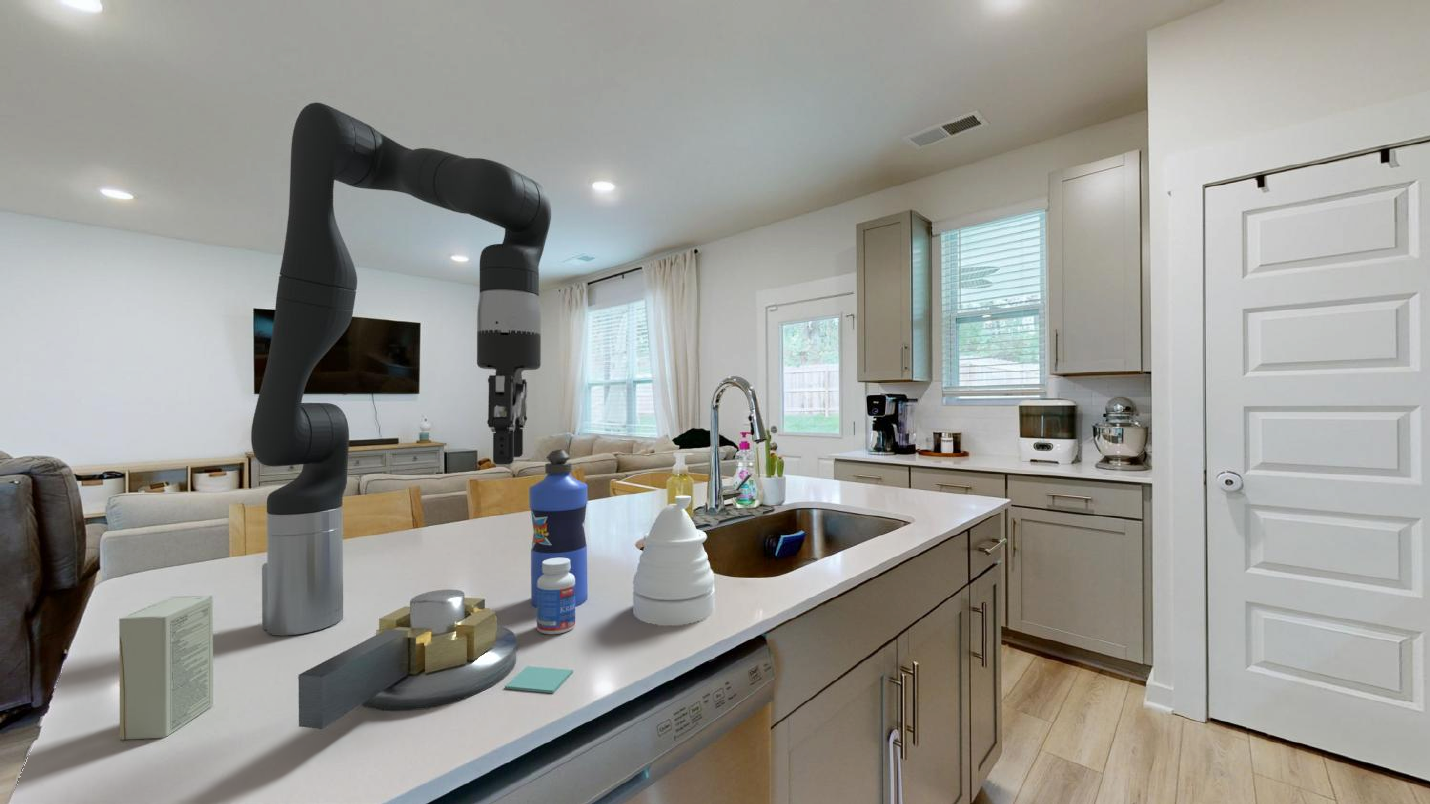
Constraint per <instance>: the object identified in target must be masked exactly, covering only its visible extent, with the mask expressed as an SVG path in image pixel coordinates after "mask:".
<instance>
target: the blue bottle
mask: <svg viewBox="0 0 1430 804" xmlns="http://www.w3.org/2000/svg"><path fill="white" fill-rule="evenodd" d="M545 458H546V459H547V460H548V461H549V462H548V463H547V462H546V463H545V464H544V465H545V466H544V467H545V468H544V470H545V471H544V472H545V474H546V476H545V477H544V478H543V479H542V480H540V481H539V482H536V483H535V484H533V485H531V486H530V487H529V491H528V492H529V493H528V495H529V496H528V498H529V500H528V501H529V508H530V513H531V521H532V530H533V534H532V542H531V549H530V584H531V585H530V589H531V590H530V595H531V597H530V600H531V601H530V603H531V606H532V607H533V608H535V609H537V581H538V579H539V578H540V577H541V576H542V575H544V573H543V572H542V562H543V561H544V560H547V559H551V558H568V559H570V565H571V568H570V571H569V573H571V574H572V575H573V576H574V577H575V608H576V607H578V605H579V606H580V605H582V603H583V604H584V603H586V602H587V601H586V600H588V599H589V597H588V591H589V590H588V545H587V540H586V532H585V524H586V514H587V505H588V484H587V483H585V482H582V481H580V480H578V479H576V478H574V477H573V476H572V474H571V473H572V472H573V471H572V462H568V461H569V459H570V458H571V456H570V455H569V454H568V453H567V452H566V451H565V449H553V450H551V452H549V454H548V455H547V456H546V457H545ZM587 598H588V599H587ZM585 601H586V602H585Z"/></svg>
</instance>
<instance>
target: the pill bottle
mask: <svg viewBox="0 0 1430 804" xmlns="http://www.w3.org/2000/svg"><path fill="white" fill-rule="evenodd" d="M570 568H571V565H570V559H568V558H551V559H547V560H544V561H543V562H542V572H543V573H544V575H542V576H541V577H540V578H539V579H538V581H537V608H536V629H537V631H538V632H539V633H541V634H544V635H559V634H560V635H561V634H563V633H566V632H570V631H571V630H572V629H574V627H575V625H576V607H575V577H574V576H573V575H572V574H571V573H569V571H570Z"/></svg>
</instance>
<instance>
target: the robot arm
mask: <svg viewBox="0 0 1430 804" xmlns="http://www.w3.org/2000/svg"><path fill="white" fill-rule="evenodd" d="M292 131H293V132H292V138H291V147H290V150H291V152H290V169H289V170H290V173H289V174H290V175H289V177H290V178H289V200H288V202H289V204H288V216H287V224H286V225H287V226H286V234H285V241H284V245H283V246H284V248H283V254H282V260H281V266H280V271H279V277H278V285H277V289H276V290H277V291H276V297H275V309H274V318H273V326H272V331H271V338H270V339H271V340H270V345H269V346H270V347H269V352H268V356H267V357H268V358H267V362H266V367H265V371H264V374H263V378H262V382H261V385H260V390H259V394H258V398H257V402H256V405H255V409H254V414H253V417H252V424H251V429H250V432H251V433H250V442H251V449H252V452H253V455H254V457H255V458H256V460H257V461H258V462H259V463H261V464H262V465H264V466H267V467H284V466H285V467H286V466H297V465H299V466H300V465H302V468H301V469H302V470H301V472H300V474H298V475H297V477H296V478H295V479H293V480H292V481H290V482H289V483H287V484H285V485H283V486H281V487H279V488H277V489H275V490H273V491H271V492H270V493H269V494H268V495H267V498H266V537H267V540H266V542H267V543H266V549H267V550H266V556H267V561H266V562H265V563H263V565H262V566H261V621H262V623H261V627H262V630H267V633H268V634H270V635H273V636H293V635H302V634H307V633H311V632H316V631H320V630H322V629H323V630H324V629H326V628H329V627H332V626H334V625H335V624H337V623H339V622H341V621H342V620H343V618H344V533H343V532H344V529H343V528H344V527H343V525H344V524H343V523H344V522H343V518H344V517H343V516H344V515H343V500H344V499H343V497H344V494H345V491H346V489H347V484H348V468H349V467H348V466H349V464H348V463H349V462H348V461H349V451H350V450H349V447H350V430H349V429H350V428H349V424H348V419H347V416H346V414H345V413H344V411H343V410H342V409H341V408H340V406H338V405H336V404H333V403H329V402H302V401H303V396H304V392H305V388H306V386H307V383H308V380H309V378H310V376H311V374H312V372H313V370H314V368H315V367H316V366H317V364H318V363H319V362H320V361H321V359H323V357H324V356H325V355H326V354H327V353H328V352H329V351H330V349H331V348H332V347H333V346H334V345H335V344H336V343H337V342H338V341H339V339H340V338H341V337H342V336H343V334H344V333H345V332H346V330H347V329H348V327H349V326H350V325H351V324H350V323H351V321H352V319H353V316H354V315H353V314H354V307H355V301H356V294H357V287H358V276H357V270H356V268H355V264H354V262H353V260H352V257H351V254H350V252H349V249H348V248H347V245H346V243H345V241H344V238H343V236H342V234H341V231H340V229H339V226H338V224H337V219H336V217H335V212H334V211H335V209H334V188H335V181H336V182H339V183H343V184H345V185H347V186H351V187H353V188H359V189H367V190H378V191H391V192H399V193H404V194H407V195H410V196H411V197H413V198H416V199H417V200H420V201H422V202H424V203H428V204H430V205H433V206H436V207H439V208H443V209H445V210H449V211H451V212H455V213H459V214H464V215H465V214H467V215H470V216H472V217H475V218H478V219H480V220H483V221H485V222H488V223H490V224H492V225H495V226H498V227H501V228H503V229H504V235H503V236H504V237H503V240H502V243H494V244H490V245H488V246H485V247H484V248H483V249H482V251H481V253H480V257H479V296H478V303H477V304H478V305H477V309H476V310H477V313H476V315H477V316H476V365H477V366H478V368H480V369H484V370H495V374H493V375H491V374H489V377H488V378H487V383H488V407H487V408H488V411H487V413H488V414H487V417H488V419H487V421H486V423H487V426H488V428H490V430H491V431H490V432H492V438H493V439H492V461H493V464H495V465H511V464H512V463H513V462H514V461H515V460H514V458H520V457H522V456H523V454H524V428H525V426H526V423H527V420H528V417H527V411H528V403H527V402H528V400H527V396H528V392H529V391H528V390H529V389H528V382H527V380H526V379H523V375H522V373H523V372H524V371H536V370H539V368H540V367H541V364H542V363H541V362H542V359H541V357H542V355H541V352H542V351H541V349H542V348H541V347H542V346H541V345H542V344H541V341H542V340H541V339H542V337H541V336H542V335H541V334H542V333H541V330H542V328H541V327H542V326H541V325H542V322H541V321H542V319H541V318H542V317H541V316H542V315H541V308H540V298H539V296H540V272H539V270H540V269H539V266H540V263H541V262H540V261H541V259H542V255H543V253H544V249H545V245H546V241H547V238H548V233H549V230H550V226H551V220H552V206H551V202H550V199H549V195H548V194H547V191H546V190H545V189H544V187H543V186H542V185H541V184H540V183H538V182H536V181H535V180H533V179H532V178H529V177H528V176H525V175H524V174H521V172H518V171H516V170H515V169H513V168H511V167H509V166H507V165H505V164H502V163H500V162H497V161H494V160H490V159H487V158H482V157H481V158H479V157H477V158H476V157H465V156H461V155H458V154H454V153H451V152H448V151H443V150H441V149H435V148H429V147H427V148H426V147H420V148H414V149H411V148H409V147H406V146H403V145H401V144H400V143H398V142H397V141H395V140H393V139H391V138H389V137H388V136H386V135H384V134H383V133H381V132H379V131H378V130H376V129H375V128H374V127H372V126H371V125H369V124H368V123H365V122H363V121H361V120H360V119H357V118H355V117H354V116H352V115H349V114H348V113H345V112H343V111H340V110H338V109H337V108H335V107H332V106H330V105H327V104H325V103H322V102H310V103H308V104H307V105H306V106H304V107H303V108H302V109H301V111H300V112H299V114H298V117H297V118H296V120H295V123H294V127H293V130H292Z"/></svg>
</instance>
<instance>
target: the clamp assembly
mask: <svg viewBox="0 0 1430 804" xmlns="http://www.w3.org/2000/svg"><path fill="white" fill-rule="evenodd" d="M497 620H498V618H497V616H496V612H495V611H492V609H491V608H490V607H486V599H485V598H480V597H479V598H478V597H477V598H476V597H465V619H464V620H462V621H460V622H459V623H457V624H456V632H452V633H448V634H443V635H438V636H433V637H431V629H419V628H410V606H407V605H406V606H405V605H404V606H403V607H401V608H399V609H397V610H396V609H395V610H394V611H392V612H390V613H387V614H386V615H384V616H382V617H380V618H378V629H376V630H375V635H373V636H371V637H370V638H367V639H366V640H364V641H362V642H360V643H358V644H356V645H354V646H352V647H350V648H348V649H347V650H344V651H342V652H340V653H339V654H337V655H334V656H332V657H331V658H328V659H326V660H325V661H323V662H321V663H319V664H317V665H314V666H313V667H311V668H309V669H306V670H305V671H302V672H301V673H299V674H298V678H297V679H298V728H306V729H317V730H321V731H322V730H324V729H326V728H327V727H329V726H331V725H332V724H333V723H335V722H336V721H338V720H339V719H341V718H342V717H345V716H346V715H347V714H349V713H350V712H352V711H354V710H355V709H357V708H358V707H360V706H362V705H361V704H363V703H365V702H366V701H368V700H369V699H371V698H372V697H374V696H375V695H377V694H378V693H380V692H382V691H383V690H385V689H386V688H388V687H389V686H391V685H392V684H394V683H396V682H397V681H399V680H400V679H402V678H403V677H405V676H406V675H408V673H409V674H417V673H419V672H420V671H422V670H423V669H424V671H425V673H428V672H433V671H437V670H441V669H445V668H449V667H453V666H457V665H461V664H465V663H467V659H468V660H475V659H476V658H478V657H479V656H481V655H482V654H483V653H485V652H486V651H487V650H489V649H490V648H492V647H493V646H494V645H496V642H497V625H498V622H497Z"/></svg>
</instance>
